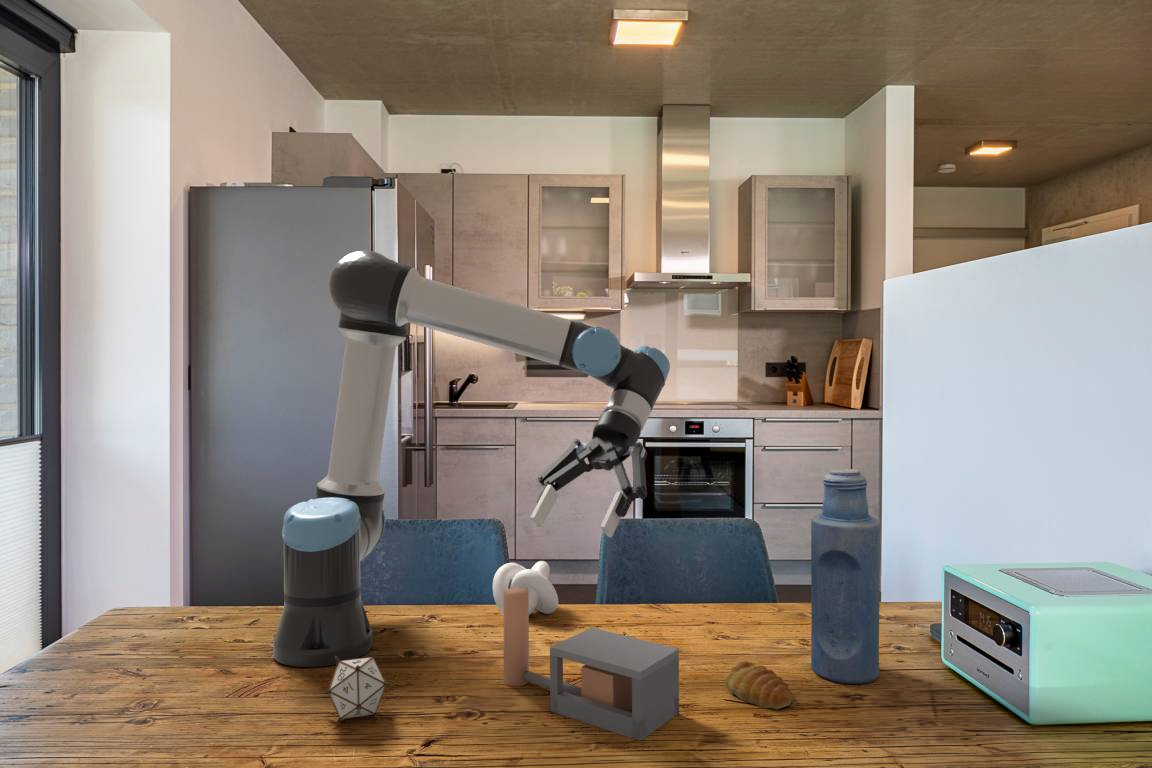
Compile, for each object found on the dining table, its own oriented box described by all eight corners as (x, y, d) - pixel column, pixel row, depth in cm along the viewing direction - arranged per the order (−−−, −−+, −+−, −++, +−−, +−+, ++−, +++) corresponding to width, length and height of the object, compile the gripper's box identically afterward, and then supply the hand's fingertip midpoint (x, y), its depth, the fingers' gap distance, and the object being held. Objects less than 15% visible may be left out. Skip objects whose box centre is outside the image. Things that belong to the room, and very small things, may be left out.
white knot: (503, 601, 152) (502, 555, 151) (565, 603, 150) (564, 556, 150) (488, 620, 140) (488, 570, 140) (555, 623, 139) (555, 573, 139)
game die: (365, 751, 101) (367, 710, 95) (307, 722, 103) (306, 680, 97) (401, 694, 108) (406, 651, 102) (347, 667, 110) (348, 624, 104)
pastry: (805, 705, 106) (805, 677, 106) (769, 717, 102) (769, 688, 102) (754, 681, 114) (754, 655, 114) (719, 692, 110) (719, 665, 110)
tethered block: (495, 683, 113) (494, 593, 113) (518, 672, 117) (517, 585, 117) (613, 722, 101) (612, 621, 100) (634, 708, 105) (634, 611, 104)
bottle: (885, 668, 118) (887, 468, 117) (871, 691, 110) (872, 476, 109) (821, 655, 123) (822, 463, 122) (802, 676, 115) (803, 471, 114)
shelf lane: (550, 710, 104) (549, 647, 104) (591, 687, 112) (591, 627, 111) (640, 741, 96) (640, 671, 95) (678, 713, 103) (678, 648, 103)
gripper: (694, 440, 129) (648, 550, 117) (572, 434, 144) (520, 531, 132) (677, 410, 125) (627, 521, 113) (553, 407, 139) (498, 505, 128)
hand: (569, 527), depth 123 cm, fingers open, 13 cm apart
